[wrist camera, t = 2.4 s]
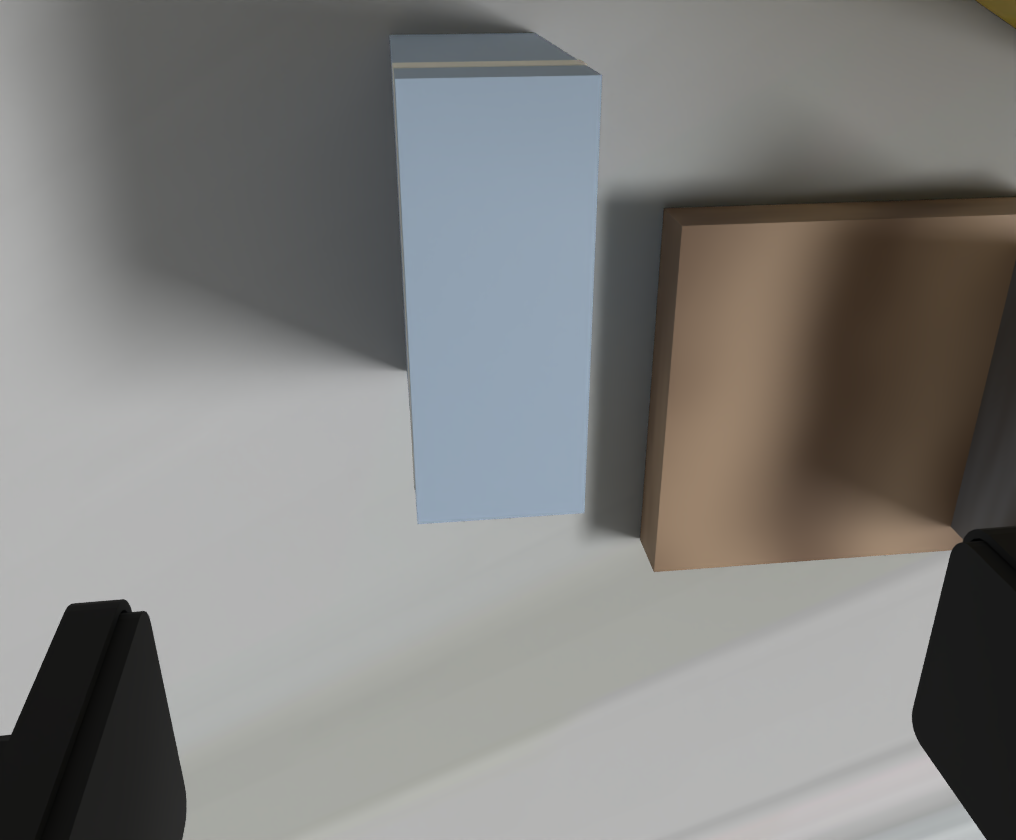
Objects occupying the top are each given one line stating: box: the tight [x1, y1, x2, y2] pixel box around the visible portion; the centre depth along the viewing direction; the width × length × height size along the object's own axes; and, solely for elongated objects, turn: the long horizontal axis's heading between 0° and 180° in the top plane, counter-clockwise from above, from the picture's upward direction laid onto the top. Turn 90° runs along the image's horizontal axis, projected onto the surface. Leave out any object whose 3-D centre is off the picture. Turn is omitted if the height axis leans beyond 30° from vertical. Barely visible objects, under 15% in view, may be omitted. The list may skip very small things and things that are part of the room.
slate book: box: [389, 33, 602, 524], centre depth 25 cm, size 4×10×9 cm, turn 0°
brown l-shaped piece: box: [640, 197, 1016, 572], centre depth 29 cm, size 12×12×9 cm
